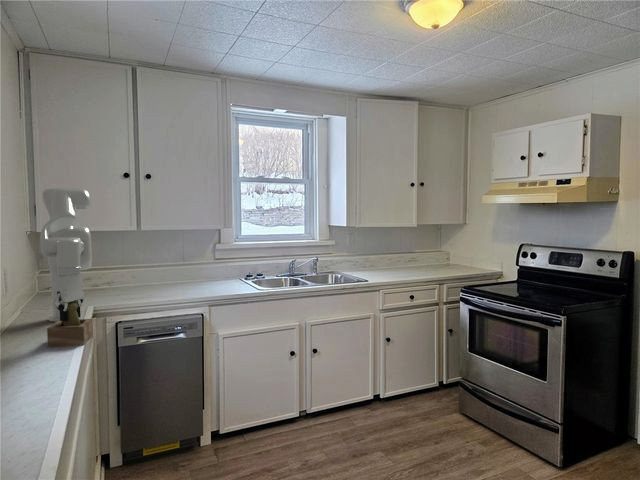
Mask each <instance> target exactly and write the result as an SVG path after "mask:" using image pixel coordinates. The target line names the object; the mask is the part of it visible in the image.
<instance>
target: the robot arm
mask: <svg viewBox="0 0 640 480" xmlns="http://www.w3.org/2000/svg"><path fill="white" fill-rule="evenodd" d="M42 201H43V204H44V207H45V208H46V210H47V213H48V215H49V219H50V220H48V221H47V222H46V223H45V224H44V225H43V226H42V228H41V231H40V234H39V237H40V242H39V243H40V251H41V254H42V255H43V256H44V257H46V258H47V263H48V268H49V274H50V288H51V290H50V291H51V312H52V313H51V316H49V317H48V321H49V322H54V323H55V322H57V321H58V320H60V321H68V311H66V310H67V305H68V303H69V302H76V303H77V305H78V308H77V313H78V317H79V319H81V317H82V316H81V307H82V304H83V302H84V300H85V299H86V297H87V296H86V294H85V292H84V282H83V277H82V274H81V271H84V270H85V271H86V270H89V269H90V268H92V264H93V255H92V253H93V252H92V251H93V250H92V234H91V231H90V229H89V227H87V226H82V225H81V226H78V225H77V226H76V225H75V223H76V222H77V213H76V210H88V209H90V206H91V202H92V201H91V195H90V192H89V191H88V190H86V189H85V188H71V187H70V188H69V187H68V188H66V187H51V188H49V187H48V188H46V189H44V190H43V191H42ZM73 225H74V226H73ZM63 304H64V307H63V306H62V305H63Z"/></svg>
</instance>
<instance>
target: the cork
mask: <svg viewBox="0 0 640 480" xmlns="http://www.w3.org/2000/svg"><path fill="white" fill-rule="evenodd" d="M76 302H77V301H76ZM76 302H69V303H68V305H67V310H66V311H68V321H64V326H80V325H81V323H80V320H79V319H80V318H79V317H78V313H77V308H78V305H77V303H76ZM62 306H63V307H64V304H63V305H62Z"/></svg>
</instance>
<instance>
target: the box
mask: <svg viewBox="0 0 640 480" xmlns="http://www.w3.org/2000/svg"><path fill="white" fill-rule="evenodd" d="M79 320H80V323H81V325H80V326H64V321H60V320H58V321H57V322H54V323H52V324H50V326H48V327H47V328H46V332H47V333H46V335H47V339H46V340H47V348H57V347H59V348H60V347H73V346H85V344H86V343H88V342H89V340H91V338H92V337H93V332H94V331H93V318H79Z"/></svg>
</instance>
